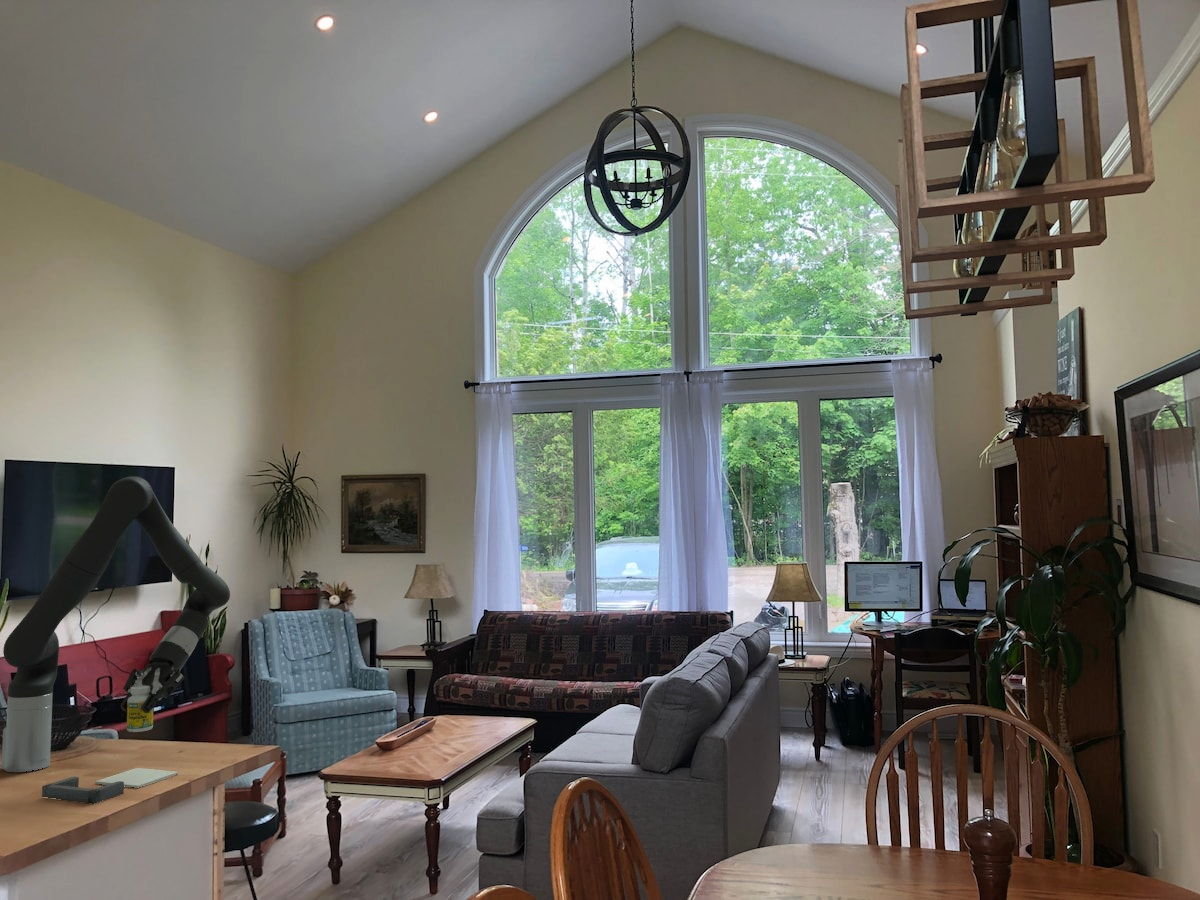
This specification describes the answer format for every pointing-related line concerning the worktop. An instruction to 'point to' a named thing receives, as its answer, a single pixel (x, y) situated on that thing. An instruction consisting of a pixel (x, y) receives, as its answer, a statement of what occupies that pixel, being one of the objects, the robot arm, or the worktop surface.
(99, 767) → the worktop surface
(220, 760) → the worktop surface
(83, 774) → the worktop surface
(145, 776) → the cream pad
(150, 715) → the supplement bottle
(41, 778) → the worktop surface
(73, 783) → the bracket
